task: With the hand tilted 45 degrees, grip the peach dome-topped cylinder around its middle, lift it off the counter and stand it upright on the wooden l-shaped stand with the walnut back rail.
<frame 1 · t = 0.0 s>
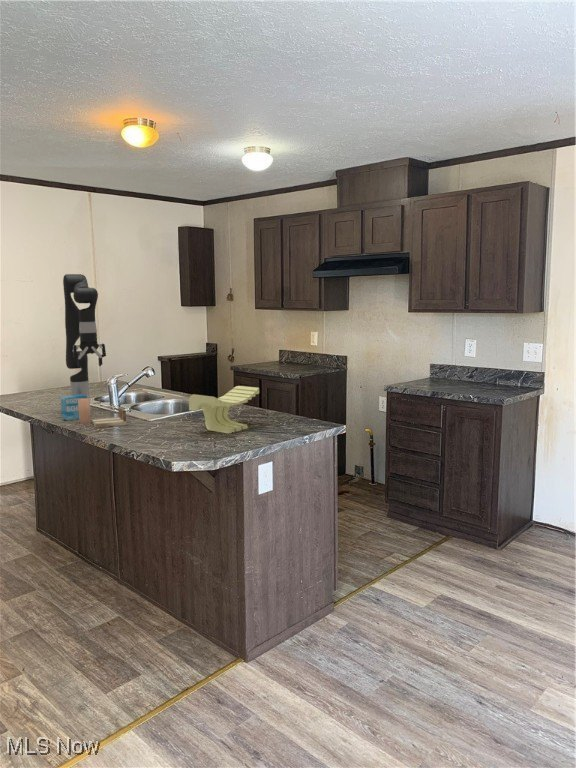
hand: (90, 366, 273), 29 cm above the countertop, tool pointing down, fingers open, 8 cm apart
slatted curved stool: (225, 429, 272), on the countertop
wooden l-shaped stand: (109, 424, 286), on the countertop
data package: (75, 419, 300), on the countertop
peach dome-topped cylinder: (85, 422, 290), on the countertop
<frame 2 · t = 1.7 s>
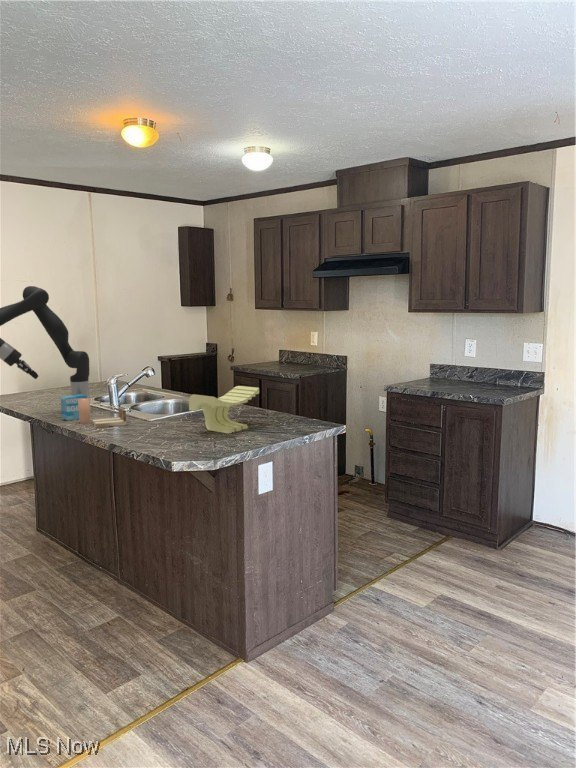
hand: (36, 376, 279), 24 cm above the countertop, tool tilted 45°, fingers open, 8 cm apart
nothing on the countertop moved.
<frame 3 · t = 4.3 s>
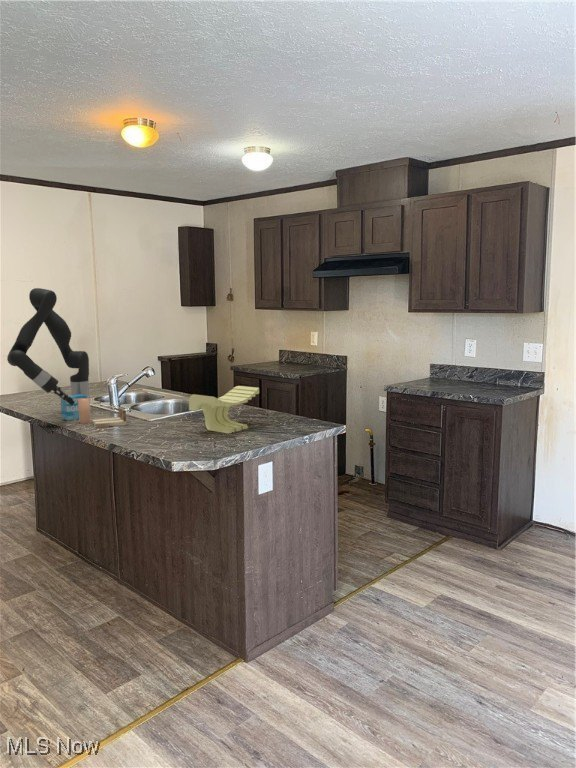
hand: (72, 402, 286), 11 cm above the countertop, tool tilted 45°, fingers open, 8 cm apart
nothing on the countertop moved.
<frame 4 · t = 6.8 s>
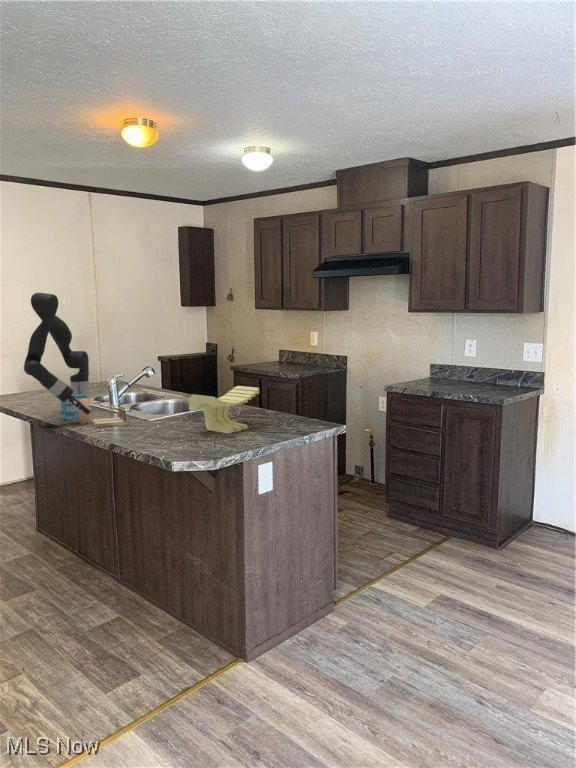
hand: (88, 412, 290), 5 cm above the countertop, tool tilted 45°, fingers closed on peach dome-topped cylinder, 5 cm apart
peach dome-topped cylinder: (85, 422, 290), on the countertop, touching gripper
everything else where it was.
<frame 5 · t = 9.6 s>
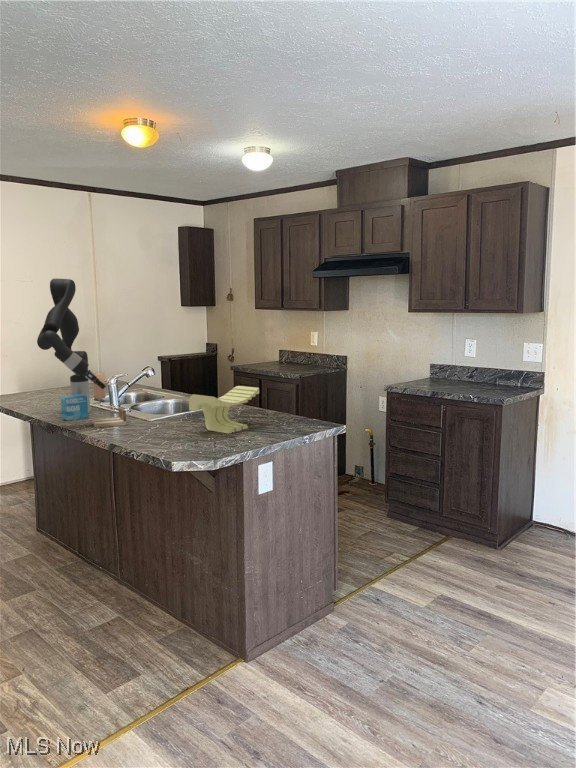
hand: (103, 386, 284), 18 cm above the countertop, tool tilted 45°, fingers closed on peach dome-topped cylinder, 5 cm apart
peach dome-topped cylinder: (100, 397, 284), point 13 cm above the countertop, touching gripper
everything else where it was.
when the fingers open (9 cm above the countertop, at t = 12.6 s): peach dome-topped cylinder drops 1 cm, resting on wooden l-shaped stand.
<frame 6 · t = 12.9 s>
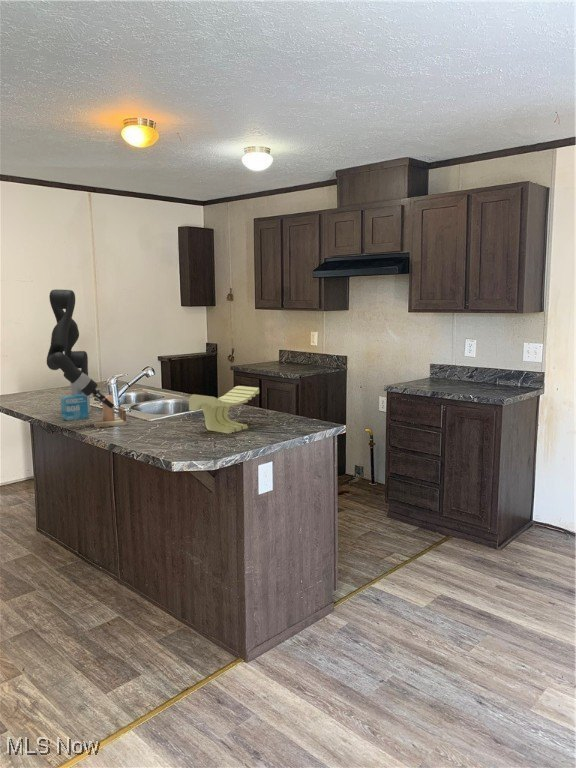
hand: (111, 405, 285), 9 cm above the countertop, tool tilted 45°, fingers open, 8 cm apart
peach dome-topped cylinder: (108, 420, 285), point 2 cm above the countertop, touching wooden l-shaped stand
everything else where it was.
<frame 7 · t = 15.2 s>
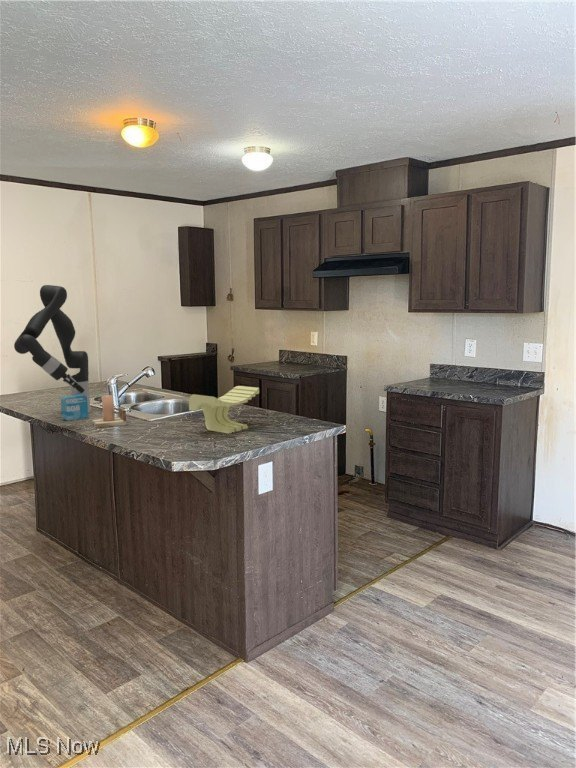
hand: (82, 390, 278), 18 cm above the countertop, tool tilted 45°, fingers open, 8 cm apart
nothing on the countertop moved.
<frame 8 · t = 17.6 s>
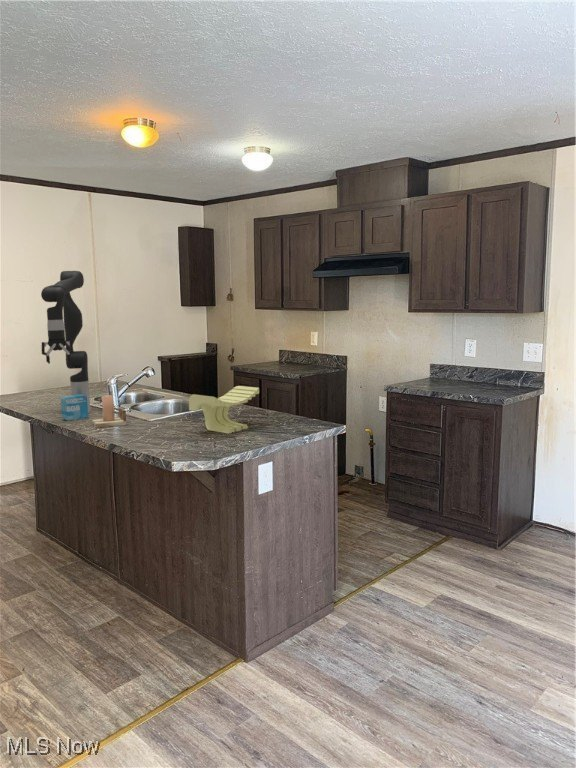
hand: (58, 362, 284), 30 cm above the countertop, tool pointing down, fingers open, 8 cm apart
nothing on the countertop moved.
at the end: peach dome-topped cylinder inside the target area on the wooden l-shaped stand (0.3 cm from its centre), point 2.0 cm above the wooden l-shaped stand's base; peach dome-topped cylinder tilted 0°; the gripper is holding nothing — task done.
